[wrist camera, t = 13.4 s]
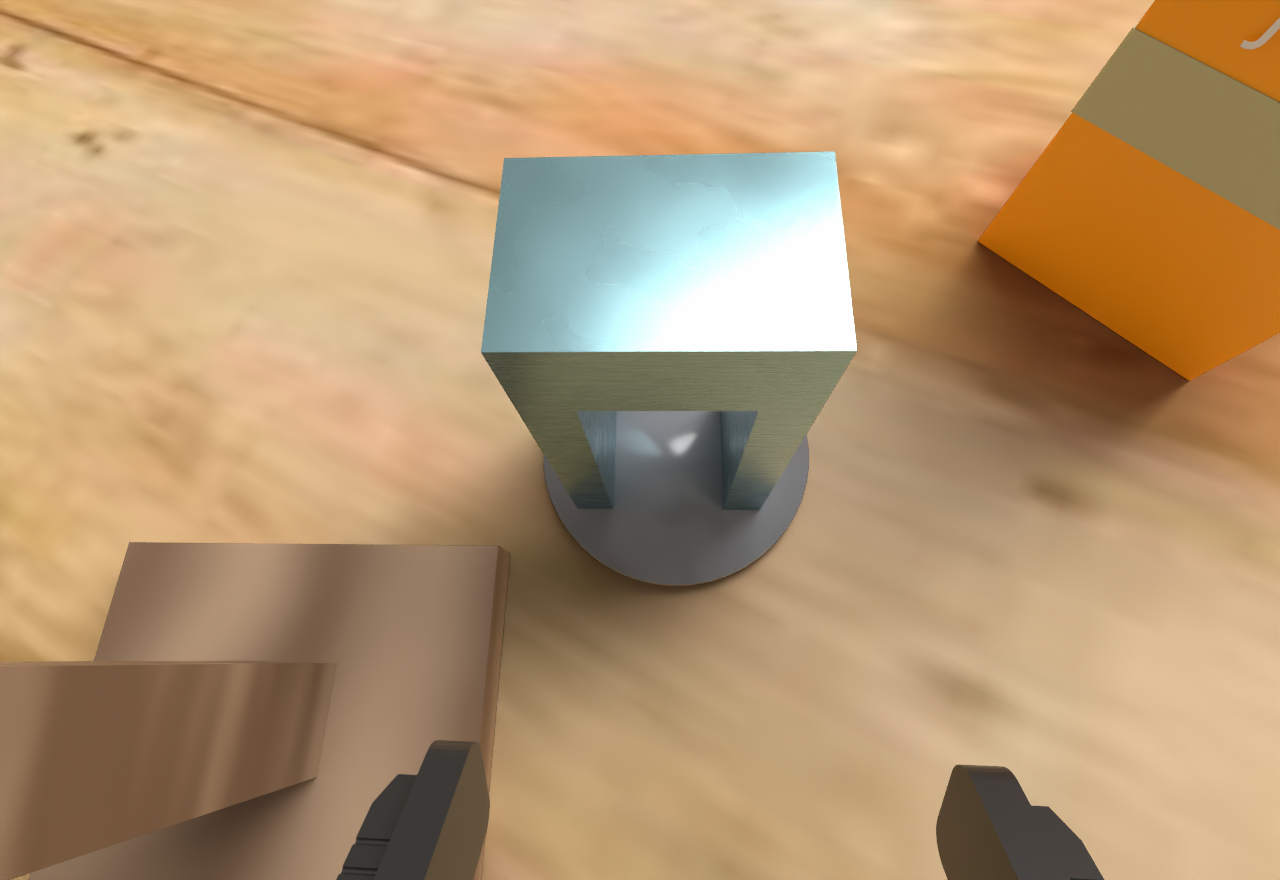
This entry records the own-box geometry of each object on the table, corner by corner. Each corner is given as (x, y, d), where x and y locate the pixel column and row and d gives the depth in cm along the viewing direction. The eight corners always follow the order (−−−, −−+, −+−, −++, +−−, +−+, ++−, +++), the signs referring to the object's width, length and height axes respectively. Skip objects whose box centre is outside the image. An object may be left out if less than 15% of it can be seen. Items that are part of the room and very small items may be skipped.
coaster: (795, 339, 23) (799, 331, 22) (815, 588, 20) (819, 585, 19) (555, 341, 23) (552, 333, 23) (537, 584, 20) (533, 582, 20)
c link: (754, 397, 21) (834, 151, 11) (760, 510, 20) (856, 351, 10) (583, 397, 22) (503, 158, 11) (577, 508, 20) (481, 352, 10)
